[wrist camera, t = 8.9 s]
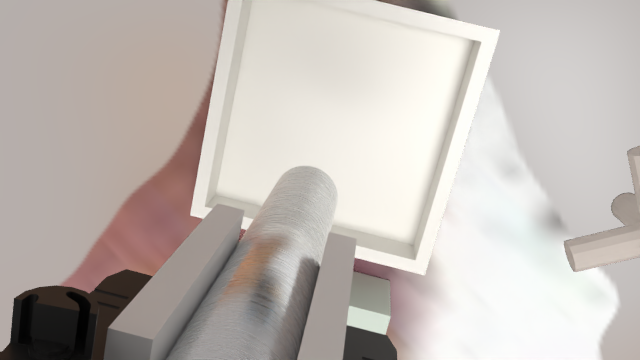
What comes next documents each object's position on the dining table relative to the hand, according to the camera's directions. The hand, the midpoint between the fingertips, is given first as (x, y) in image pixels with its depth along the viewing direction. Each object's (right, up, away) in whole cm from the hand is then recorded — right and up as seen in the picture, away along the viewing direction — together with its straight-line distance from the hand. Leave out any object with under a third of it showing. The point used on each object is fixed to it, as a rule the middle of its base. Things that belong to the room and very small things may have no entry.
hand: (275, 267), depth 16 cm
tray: (+2, +6, +22) cm, 23 cm away
